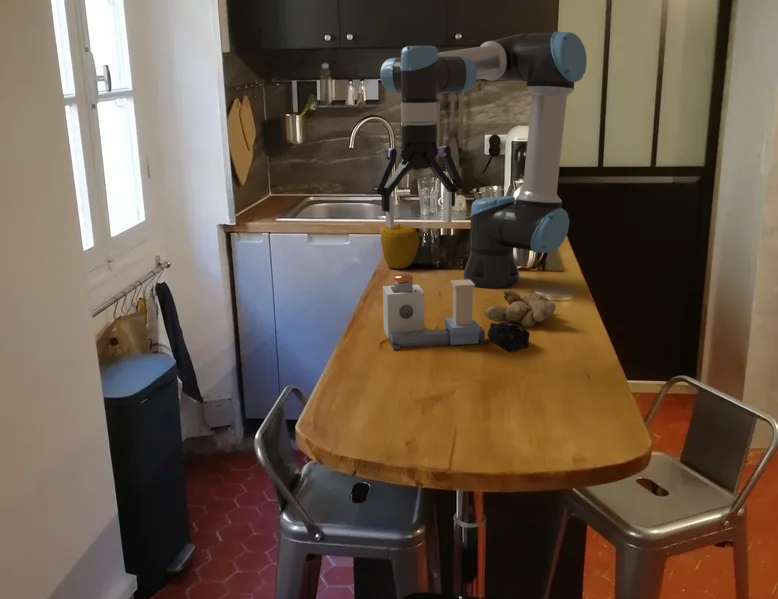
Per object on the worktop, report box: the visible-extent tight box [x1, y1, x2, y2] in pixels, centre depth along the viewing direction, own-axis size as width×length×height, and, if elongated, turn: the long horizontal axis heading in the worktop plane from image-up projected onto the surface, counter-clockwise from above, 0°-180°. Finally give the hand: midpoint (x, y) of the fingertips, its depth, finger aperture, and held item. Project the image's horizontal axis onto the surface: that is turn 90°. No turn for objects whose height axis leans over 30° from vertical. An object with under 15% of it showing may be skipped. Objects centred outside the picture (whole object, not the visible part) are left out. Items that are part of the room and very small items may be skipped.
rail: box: [388, 326, 487, 351], centre depth 169 cm, size 20×6×2 cm, turn 99°
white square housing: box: [382, 284, 425, 339], centre depth 174 cm, size 8×7×10 cm
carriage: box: [444, 279, 481, 346], centre depth 168 cm, size 6×7×13 cm
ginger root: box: [483, 289, 556, 328], centre depth 182 cm, size 16×16×8 cm
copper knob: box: [393, 273, 413, 293], centre depth 173 cm, size 4×4×6 cm
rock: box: [487, 322, 531, 353], centre depth 168 cm, size 7×10×6 cm
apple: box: [380, 223, 420, 270], centre depth 232 cm, size 11×11×13 cm
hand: (418, 224), depth 170 cm, fingers open, 13 cm apart
